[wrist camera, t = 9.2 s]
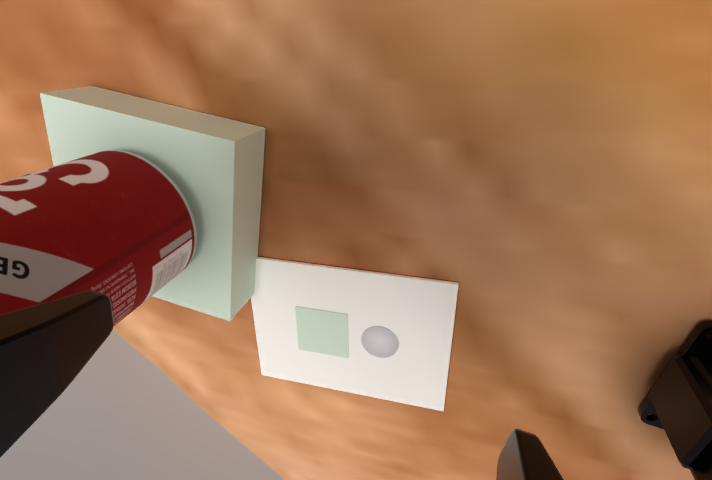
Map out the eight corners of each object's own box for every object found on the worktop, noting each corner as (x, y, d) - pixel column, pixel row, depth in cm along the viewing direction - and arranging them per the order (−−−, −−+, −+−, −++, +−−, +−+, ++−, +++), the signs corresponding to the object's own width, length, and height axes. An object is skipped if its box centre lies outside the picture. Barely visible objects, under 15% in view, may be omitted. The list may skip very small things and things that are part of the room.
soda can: (231, 236, 20) (-30, 449, 10) (152, 290, 23) (-111, 497, 13) (135, 117, 19) (-289, 221, 8) (64, 191, 22) (-313, 334, 12)
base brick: (265, 127, 21) (234, 141, 18) (255, 291, 26) (230, 321, 23) (91, 85, 22) (39, 93, 20) (112, 247, 27) (73, 270, 24)
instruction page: (458, 282, 22) (458, 285, 21) (443, 408, 26) (443, 412, 25) (246, 255, 24) (244, 257, 24) (262, 372, 28) (260, 375, 28)
